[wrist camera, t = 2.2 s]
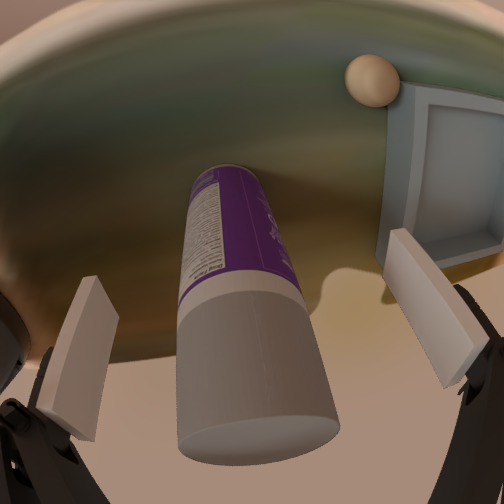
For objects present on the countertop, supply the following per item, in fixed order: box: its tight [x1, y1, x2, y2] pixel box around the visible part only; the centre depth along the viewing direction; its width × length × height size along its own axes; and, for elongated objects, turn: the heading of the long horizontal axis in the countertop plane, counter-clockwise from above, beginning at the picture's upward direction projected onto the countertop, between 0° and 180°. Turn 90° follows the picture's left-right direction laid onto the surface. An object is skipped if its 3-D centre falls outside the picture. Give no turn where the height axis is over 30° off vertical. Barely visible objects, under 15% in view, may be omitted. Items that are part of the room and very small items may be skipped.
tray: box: [375, 81, 504, 270], centre depth 18 cm, size 14×14×3 cm
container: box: [176, 164, 340, 466], centre depth 13 cm, size 5×5×15 cm
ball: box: [344, 54, 400, 107], centre depth 14 cm, size 3×3×3 cm
